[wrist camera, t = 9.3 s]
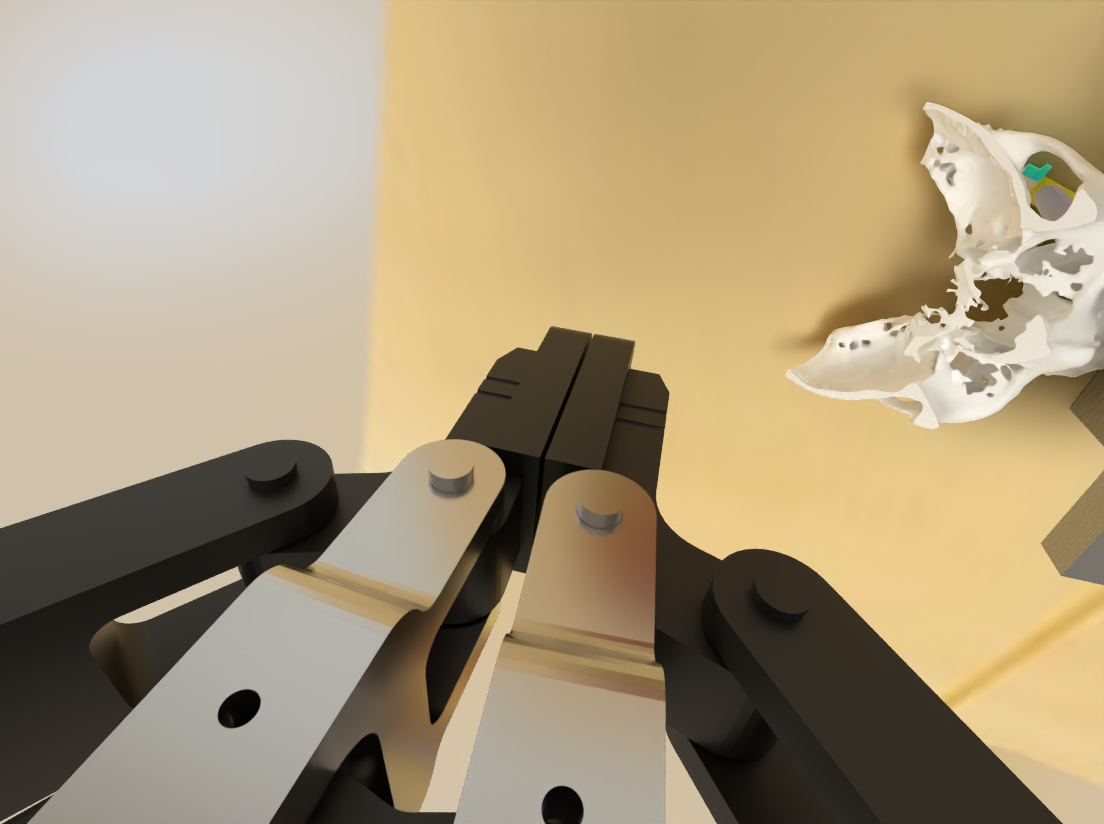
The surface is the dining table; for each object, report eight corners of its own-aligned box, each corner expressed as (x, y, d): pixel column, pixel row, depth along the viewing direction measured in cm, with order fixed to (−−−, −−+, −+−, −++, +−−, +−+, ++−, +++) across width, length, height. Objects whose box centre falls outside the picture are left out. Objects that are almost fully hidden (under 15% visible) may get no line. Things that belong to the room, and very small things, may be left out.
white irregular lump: (1058, 451, 27) (958, 500, 22) (893, 353, 32) (785, 376, 27) (1303, 190, 20) (1235, 180, 15) (1038, 124, 25) (926, 101, 20)
